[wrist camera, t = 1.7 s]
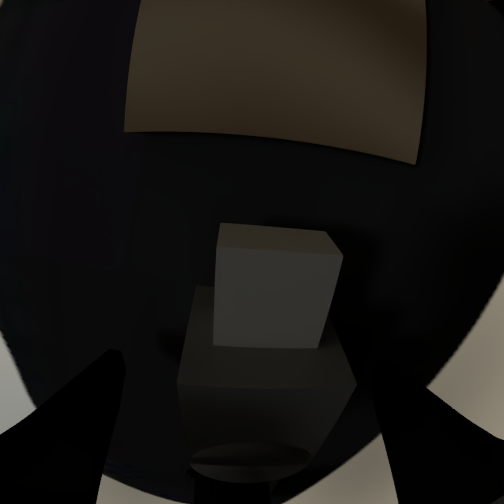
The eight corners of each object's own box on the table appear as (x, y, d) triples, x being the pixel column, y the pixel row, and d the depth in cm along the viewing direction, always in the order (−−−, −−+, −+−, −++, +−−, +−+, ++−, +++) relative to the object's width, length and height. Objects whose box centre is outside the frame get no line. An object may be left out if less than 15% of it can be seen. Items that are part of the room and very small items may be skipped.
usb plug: (285, 407, 12) (296, 480, 9) (199, 404, 12) (193, 480, 8) (335, 217, 8) (399, 289, 5) (198, 206, 8) (167, 277, 4)
